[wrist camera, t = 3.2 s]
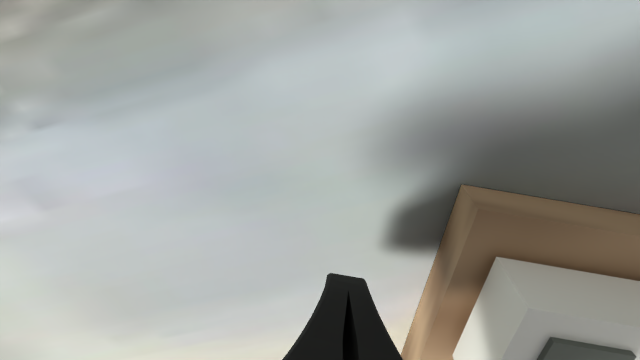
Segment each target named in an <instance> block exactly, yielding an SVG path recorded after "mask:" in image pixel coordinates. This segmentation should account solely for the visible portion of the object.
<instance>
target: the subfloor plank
mask: <svg viewBox="0 0 640 360" xmlns="http://www.w3.org/2000/svg"><path fill="white" fill-rule="evenodd" d="M496 257H501V258H507V259H513V260H519V261H525V262H531V263H536V264H542V265H548V266H554V267H560V268H566V269H571V270H577V271H583V272H589V273H595V274H601V275H606V276H612V277H618V278H624V279H630V280H636V281H640V214H634V213H628V212H622V211H616V210H610V209H604V208H599V207H593V206H587V205H581V204H575V203H569V202H563V201H557V200H551V199H545V198H539V197H533V196H527V195H521V194H515V193H509V192H504V191H498V190H492V189H486V188H480V187H474V186H468V185H462V184H461V187H460V190H459V192H458V195H457V198H456V201H455V204H454V207H453V209H452V212H451V215H450V218H449V221H448V223H447V226H446V229H445V232H444V235H443V238H442V240H441V243H440V246H439V249H438V252H437V255H436V257H435V260H434V263H433V266H432V269H431V271H430V274H429V277H428V280H427V283H426V286H425V288H424V291H423V294H422V297H421V300H420V302H419V305H418V308H417V311H416V314H415V317H414V319H413V322H412V325H411V328H410V331H409V333H408V336H407V339H406V342H405V345H404V348H403V350H402V353H401V357H402V359H403V360H454V359H453V356H452V355H453V353H454V350H455V348H456V346H457V344H458V341H459V339H460V337H461V335H462V333H463V330H464V328H465V326H466V324H467V321H468V319H469V317H470V315H471V312H472V310H473V308H474V306H475V303H476V301H477V299H478V297H479V294H480V292H481V290H482V288H483V285H484V283H485V281H486V279H487V276H488V274H489V272H490V270H491V267H492V265H493V263H494V261H495V258H496Z"/></svg>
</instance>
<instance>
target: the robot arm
mask: <svg viewBox="0 0 640 360" xmlns="http://www.w3.org/2000/svg"><path fill="white" fill-rule="evenodd" d="M283 360H403V359H402V357H401V355H400V354H399V352H398V350H397V349H396V347H395V345H394V343H393V341H392V340H391V338H390V336H389V334H388V332H387V330H386V328H385V326H384V324H383V322H382V320H381V318H380V316H379V314H378V311H377V309H376V307H375V304H374V302H373V300H372V297H371V295H370V292H369V289H368V286H367V283H366V281H365V280H364V279H362V278H356V277H351V276H345V275H339V274H333V273H330V274H328V275H327V279H326V284H325V288H324V291H323V293H322V296H321V298H320V300H319V302H318V304H317V306H316V308H315V310H314V313H313V314H312V316H311V318H310V320H309V321H308V323H307V325H306V326H305V328H304V330H303V331H302V333H301V335H300V336H299V338H298V339H297V341H296V342H295V343H294V345H293V346H292V348H291V349H290V350H289V352H288V353H287V354H286V356H285V357H284V358H283Z"/></svg>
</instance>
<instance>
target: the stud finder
mask: <svg viewBox="0 0 640 360" xmlns="http://www.w3.org/2000/svg"><path fill="white" fill-rule="evenodd" d="M452 356H453V359H454V360H640V281H636V280H630V279H624V278H618V277H612V276H606V275H601V274H595V273H589V272H583V271H577V270H571V269H566V268H560V267H554V266H548V265H542V264H536V263H531V262H525V261H519V260H513V259H507V258H501V257H496V258H495V261H494V263H493V265H492V267H491V270H490V272H489V274H488V276H487V279H486V281H485V283H484V285H483V288H482V290H481V292H480V294H479V297H478V299H477V301H476V303H475V306H474V308H473V310H472V312H471V315H470V317H469V319H468V321H467V324H466V326H465V328H464V330H463V333H462V335H461V337H460V339H459V341H458V344H457V346H456V348H455V350H454V353H453V355H452Z"/></svg>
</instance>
